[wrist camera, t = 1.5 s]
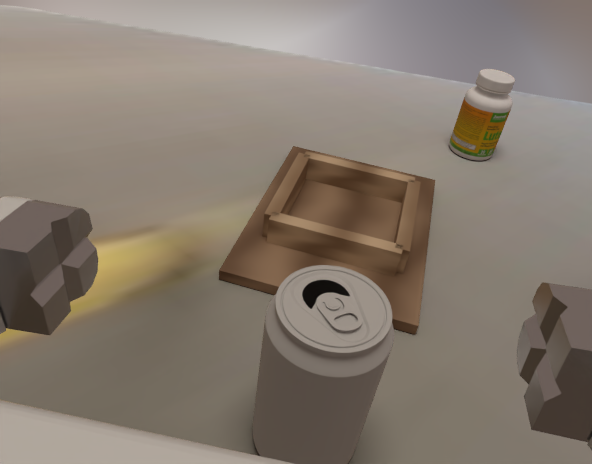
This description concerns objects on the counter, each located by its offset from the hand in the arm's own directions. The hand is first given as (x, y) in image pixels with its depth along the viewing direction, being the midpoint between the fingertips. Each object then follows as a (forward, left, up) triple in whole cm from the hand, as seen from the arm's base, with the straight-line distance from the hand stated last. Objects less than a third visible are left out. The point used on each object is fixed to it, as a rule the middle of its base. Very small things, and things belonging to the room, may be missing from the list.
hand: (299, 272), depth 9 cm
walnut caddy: (-2, +33, -23) cm, 40 cm away
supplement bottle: (+10, +55, -24) cm, 60 cm away
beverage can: (0, +11, -24) cm, 26 cm away
